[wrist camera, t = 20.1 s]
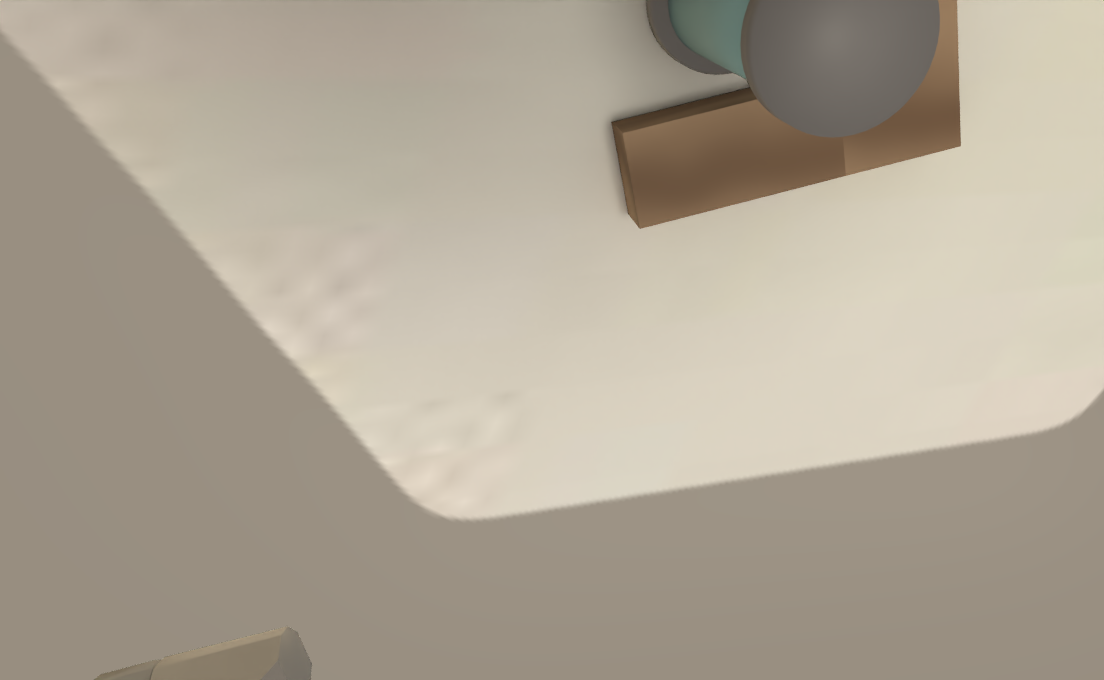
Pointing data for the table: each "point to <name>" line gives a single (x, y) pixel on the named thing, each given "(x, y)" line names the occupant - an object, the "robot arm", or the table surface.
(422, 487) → the table surface
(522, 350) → the table surface
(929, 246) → the table surface
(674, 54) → the bobbin
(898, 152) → the notched board
